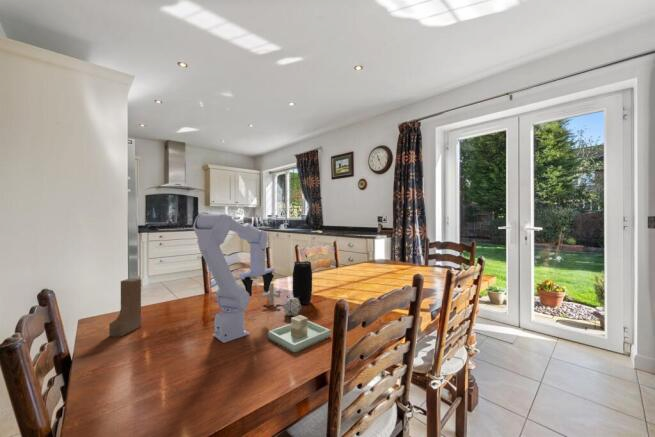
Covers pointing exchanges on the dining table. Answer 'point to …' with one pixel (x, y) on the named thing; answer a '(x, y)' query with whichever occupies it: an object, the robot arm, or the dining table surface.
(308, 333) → the sorting tray
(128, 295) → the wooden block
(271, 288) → the pipe connector
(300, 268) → the portable speaker
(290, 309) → the game die
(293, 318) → the maple block
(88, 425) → the dining table surface
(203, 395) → the dining table surface
